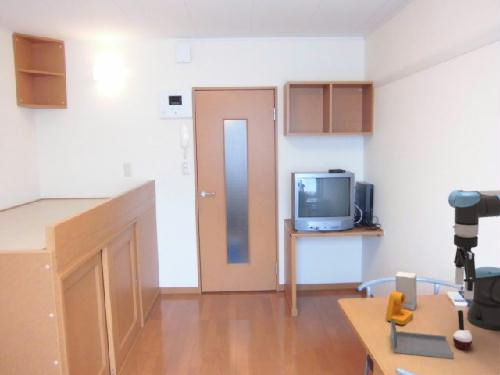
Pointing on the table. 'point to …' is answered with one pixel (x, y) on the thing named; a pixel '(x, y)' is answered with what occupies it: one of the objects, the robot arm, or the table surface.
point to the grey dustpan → (419, 344)
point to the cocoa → (462, 334)
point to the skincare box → (407, 288)
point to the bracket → (398, 309)
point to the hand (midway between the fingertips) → (463, 291)
